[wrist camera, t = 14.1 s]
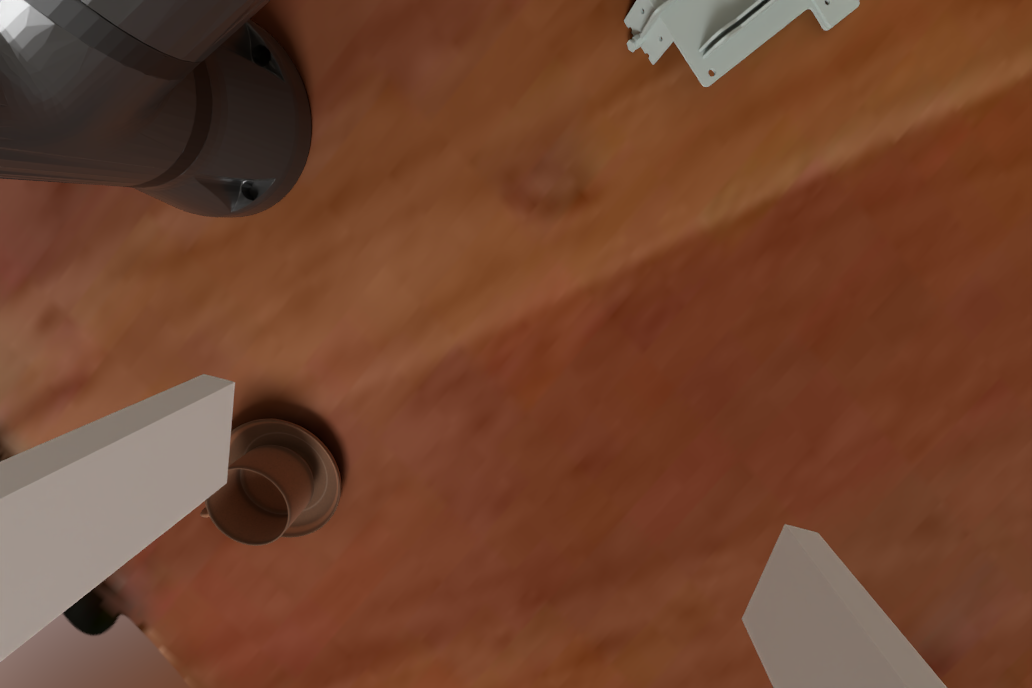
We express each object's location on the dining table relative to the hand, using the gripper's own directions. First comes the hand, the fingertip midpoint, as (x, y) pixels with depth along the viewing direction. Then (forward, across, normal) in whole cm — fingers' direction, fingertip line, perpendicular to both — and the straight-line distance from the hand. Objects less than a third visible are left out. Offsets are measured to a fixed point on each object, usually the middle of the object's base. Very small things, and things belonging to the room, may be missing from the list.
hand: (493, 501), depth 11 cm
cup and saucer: (+29, -19, -22) cm, 41 cm away
